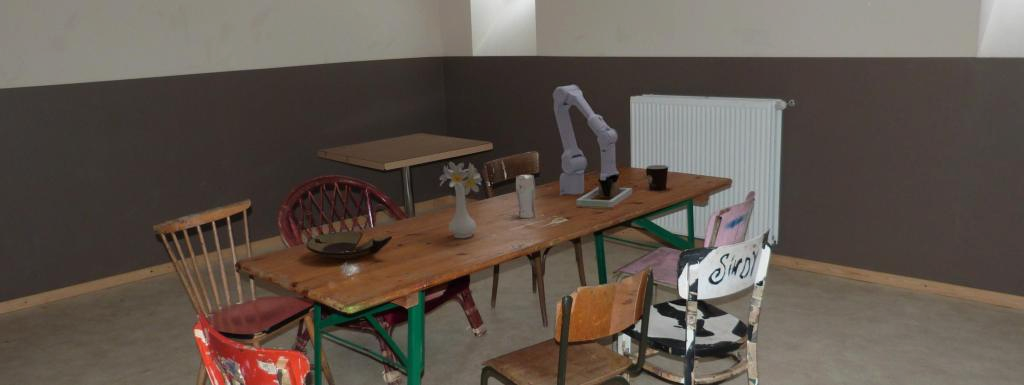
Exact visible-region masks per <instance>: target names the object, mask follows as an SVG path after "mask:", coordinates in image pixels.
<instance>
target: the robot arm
mask: <svg viewBox="0 0 1024 385" xmlns="http://www.w3.org/2000/svg"><path fill="white" fill-rule="evenodd" d="M552 98H553V112H554V115H555V120H556V123H557V128H558V132H559V135H560V138H561V143H562V147H563V153H562V155H561V169H562V170H563V172H561V174H560V176H559V196H563V194H564V195H582V194H584V193H585V176H584V172H585V170H586V168H587V166H588V160H587V158H586V157H585V155H584V153H583V151H582V150H581V149H580V148H579V147H578V144H577V141H576V140H577V139H576V136H575V132H574V129H573V125H572V120H571V116H570V112H569V109H570V108H571V106H575V107H576V108H577V109H578V110H579V112H581V114H582V115H583V116H584V117H585V118H586V119H587V125H588V126H589V128H590V130H592V131H593V133H594V134H595V135H596V137H597V138H596V141H597V143H598V145H599V149H600V175H599V178H598V180H597V181H598V184H599V183H600V185H601V187H602V190H603V194H604V196H607V197H609V196H610V191H611V184H612V182H618V180H619V178H620V175H619V174H620V172H619V171H618V169H617V165H616V164H617V163H616V142H618V140H619V135H618V132H617V130H616V129H614V128H611V127H610V126H609V125H608V124H607V123H606V121H605V120H604V118H603V116H602V115H600V114H596V113H595V112H594V110H593V109H592V107H590V105H589V104H588V102H587V100H585V98H584V95H583V91H582V90H581V89H580V87H579V86H578V85H577V84H570V85H564V86H558V87H556V88H555V90H554V91H553V92H552Z"/></svg>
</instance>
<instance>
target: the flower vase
mask: <svg viewBox="0 0 1024 385" xmlns="http://www.w3.org/2000/svg"><path fill="white" fill-rule="evenodd" d="M464 167H465V163H464V162H460V163H459V164H457V165H456V164H455V163H454V162H452V161H448V165H447V166H446V165H443V174H441V175H440V176H439V180H440V181H441V182H440V184H439V187H441V186H442V185H443V184H444V183H445V182H446V181H447V180H448V179H450V182H449V183H448V185H449V186H448V187H450V188H453V187H454V189H455V190H454V191H455V201H456V202H455V203H456V206H455V208H456V209H455V214H454V216H453V218H452V219H451V220H450V222H449V224H448V230H449V231H450V233H451V234H453V237H454V238H455V239H468V238H471V237H472V236H473V233H474V232H475V230H476V229H477V223H476V221H475V219H473V218H472V217H471V216H470V214H469V213H468V210H467V204H466V195H468V194H469V193H471V190H472V191H473V192H475V193H479V192H480V189H479V186H478V185H480V186H481V185H482V183H481V182H482V180H483V178H482V177H481V174H480V173H479V172H478V169H477V168H475V166H474V164H472V163H471V162H469V164H468V168H465V169H463V168H464ZM477 184H478V185H477Z"/></svg>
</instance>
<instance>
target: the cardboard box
mask: <svg viewBox="0 0 1024 385" xmlns="http://www.w3.org/2000/svg"><path fill="white" fill-rule="evenodd" d="M620 183H621V182H620V181H617V182H612V184H611V191H610V196H609V197H607V196H604V194H603V190H602V187H601V185H600V183H599V182H598V185H597V187H598V191H599V195H598V198H600V199H601V198H603V199H604V198H605V199H613V198H614V197H616V196H617V195H619V194H620V188H621V187H620Z"/></svg>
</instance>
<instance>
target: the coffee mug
mask: <svg viewBox="0 0 1024 385" xmlns="http://www.w3.org/2000/svg"><path fill="white" fill-rule="evenodd" d="M668 172H669V165H664V164H653V165H652V164H651V165H647V166H646V169H645V174H646V177H647V181H648V189H649V191H652V192H653V191H654V192H661V191H666V189H667V181H668Z"/></svg>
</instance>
